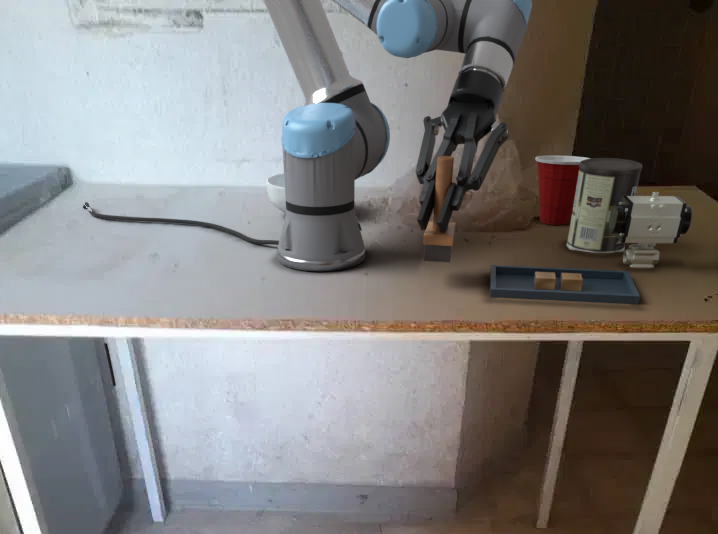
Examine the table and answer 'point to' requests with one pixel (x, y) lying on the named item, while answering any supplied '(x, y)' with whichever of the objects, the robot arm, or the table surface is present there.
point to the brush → (434, 240)
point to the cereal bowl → (277, 191)
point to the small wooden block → (571, 281)
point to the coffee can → (600, 202)
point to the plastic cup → (557, 187)
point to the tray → (594, 287)
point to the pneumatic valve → (648, 225)
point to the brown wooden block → (544, 280)
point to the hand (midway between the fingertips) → (431, 226)
